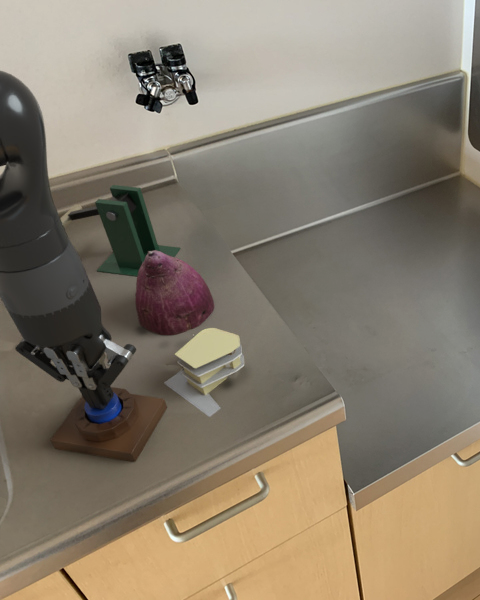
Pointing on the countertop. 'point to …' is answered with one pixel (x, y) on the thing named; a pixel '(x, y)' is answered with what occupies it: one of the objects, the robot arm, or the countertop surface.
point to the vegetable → (171, 295)
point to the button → (104, 411)
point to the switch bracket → (128, 233)
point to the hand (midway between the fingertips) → (101, 402)
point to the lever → (93, 209)
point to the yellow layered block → (206, 367)
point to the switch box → (112, 428)
